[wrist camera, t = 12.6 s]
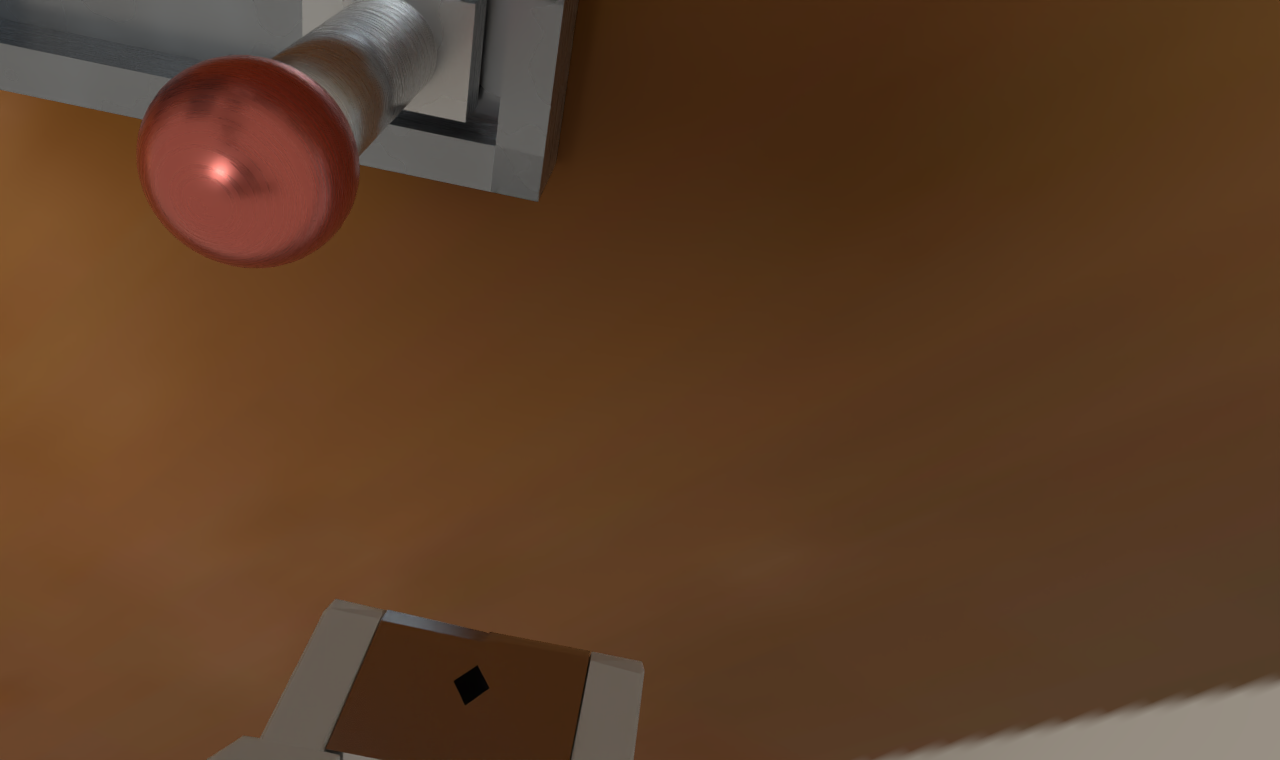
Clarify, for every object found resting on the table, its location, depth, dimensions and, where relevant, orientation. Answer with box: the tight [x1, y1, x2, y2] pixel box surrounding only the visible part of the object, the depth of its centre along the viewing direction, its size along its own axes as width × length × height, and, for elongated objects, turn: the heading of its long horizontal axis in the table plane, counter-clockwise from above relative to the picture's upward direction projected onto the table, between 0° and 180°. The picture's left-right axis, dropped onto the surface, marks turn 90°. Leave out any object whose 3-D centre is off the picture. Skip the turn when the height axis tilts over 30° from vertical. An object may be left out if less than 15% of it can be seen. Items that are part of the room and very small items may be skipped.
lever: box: [136, 0, 487, 268], centre depth 21 cm, size 4×4×10 cm
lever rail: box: [0, 0, 579, 202], centre depth 25 cm, size 6×16×3 cm, turn 80°
